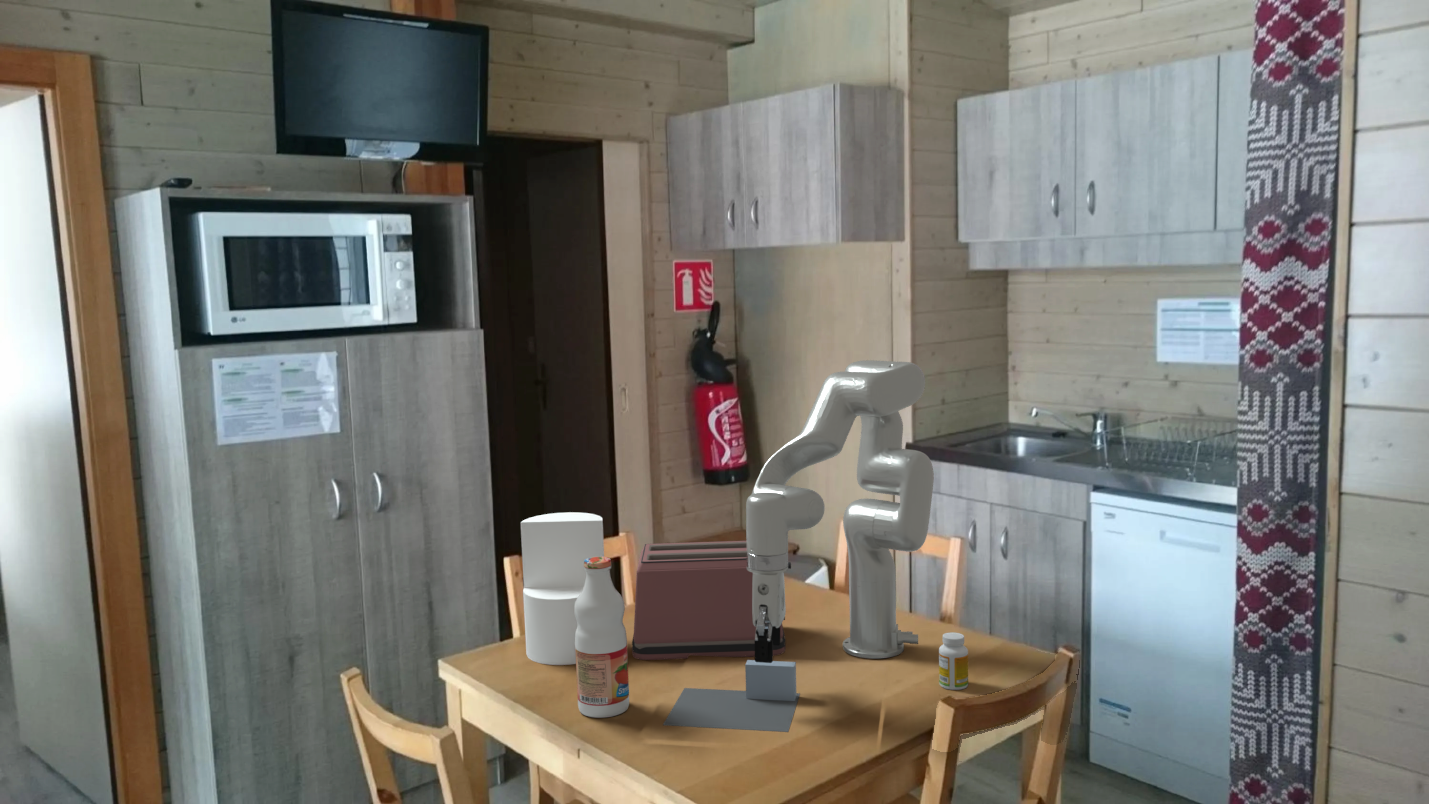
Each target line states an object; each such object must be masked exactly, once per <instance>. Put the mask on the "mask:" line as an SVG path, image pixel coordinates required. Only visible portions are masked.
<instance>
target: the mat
mask: <svg viewBox="0 0 1429 804" xmlns="http://www.w3.org/2000/svg"><path fill="white" fill-rule="evenodd" d="M796 695H797V696H796V699H795V701H783V700H763V699H746V690H733V689H718V688H717V689H712V688H698V687H697V688H692V687H684V688H683V690H682V691H681V692H680V694H679V696H678V698H677V700H676V701H675V704H674V705H673V707H672V708H671V710H670V712H669V713H668V715H667V717H666V718H665V720H664V722H663V724H662V726H667V727H668V726H670V727H689V728H704V729H705V728H706V729H707V728H708V729H723V730H724V729H726V730H744V731H760V732H780V733H789V731H790V727H791V725H792V722H793V718H794V714H795V711H796V708H797V705H798V702H799V699H800V695H801V693H800V692H799V693H797V692H796Z"/></svg>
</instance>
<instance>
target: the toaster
mask: <svg viewBox="0 0 1429 804" xmlns="http://www.w3.org/2000/svg"><path fill="white" fill-rule="evenodd" d="M789 569H790V570H791V569H792V564H791V562H790V561H788V570H789ZM752 577H753V573H752V572H749V571H748V570H747V541H746V540H728V541H727V540H726V541H725V540H724V541H721V540H720V541H719V540H718V541H695V542H694V541H691V542H690V541H689V542H664V543H662V542H661V543H660V542H659V543H645V544H644V545H643V547H642V550H640V555H639V560H638V564H637V568H636V576H635V578H636V579H635V599H634V600H635V601H634V621H633V623H634V624H633V635H632V640H631V649H632V650H631V651H632V652H631V653H632V654H631V655H632V656H633V658H635V659H637V660H642V661H655V660H657V661H659V660H685V659H686V660H687V659H688V658H689V656H696V657H697V656H700V657H721V658H722V657H725V658H745V657H746V658H747V657H751V658H752V657H754V658H755V633H756V627H755V626H754V625H753V617H752ZM785 620H786V616H785V617H784V619H783V621H785ZM785 652H786V635H785V631H784V626H783V623H782V624H781V625H780V645H773V657H774V656H779V655H782V654H784V653H785Z"/></svg>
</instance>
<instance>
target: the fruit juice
mask: <svg viewBox="0 0 1429 804" xmlns="http://www.w3.org/2000/svg"><path fill="white" fill-rule="evenodd" d="M584 569H585V571H586V580H585V584H584V587H583V590H582V592H581V593H580V595H579V596H578V598H577V599H576V601H575V606H574V612H575V617H576V619H577V623H578V626H577V629H576V632H575V651H576V664H575V668H576V669H575V670H576V690H577V707H578V710H579V712H580V714H581V715H584V716H586V717H589V718H596V719H598V718H602V719H603V718H610V717H611V718H612V717H615V716H619V715H621V714H623V713H625V712H626V711H627V710H628V708H629V706H630V684H629V682H630V680H629V660H628V638H627V630H626V627H625V625H624V622H623V619H624V615H625V609H626V607H625V600H624V599H623V597H622V595H621V594H620V593H619V591H618V590H617V589H616V587H615V586H614V583H613V580H612V578H611V569H612V560H611V558H610V557H607V556H604V557H591V558H588V559H586V560H585V561H584Z"/></svg>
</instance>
